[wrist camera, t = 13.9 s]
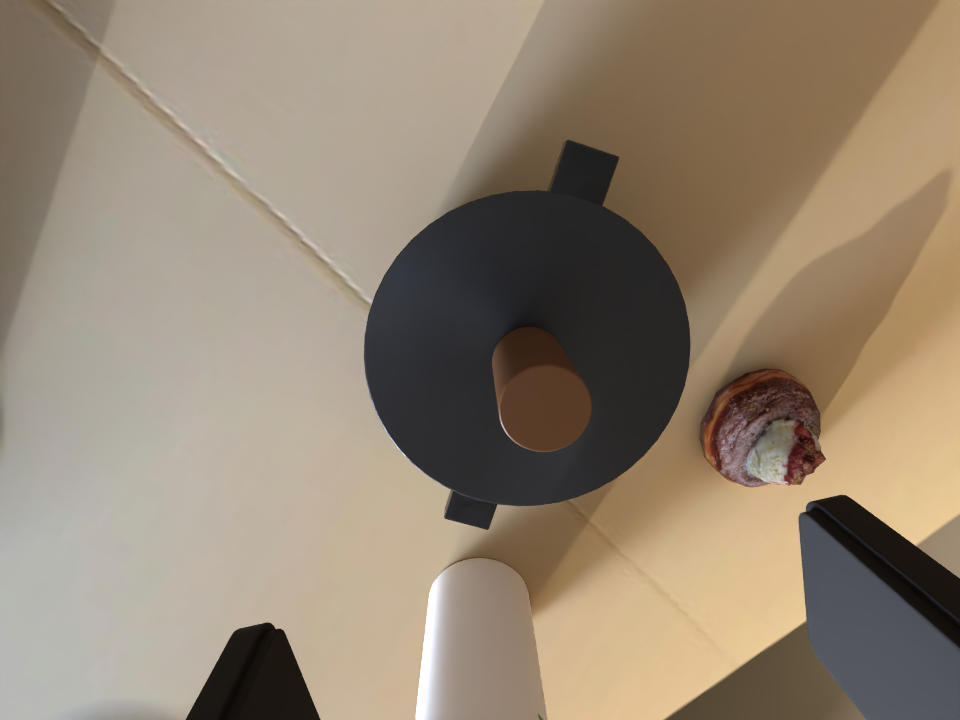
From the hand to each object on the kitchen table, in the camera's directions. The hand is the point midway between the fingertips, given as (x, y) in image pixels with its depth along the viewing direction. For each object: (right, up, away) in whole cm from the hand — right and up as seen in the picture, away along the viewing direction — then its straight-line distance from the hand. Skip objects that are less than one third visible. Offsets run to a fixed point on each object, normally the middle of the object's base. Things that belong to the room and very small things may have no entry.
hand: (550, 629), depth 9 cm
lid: (+1, +5, +15) cm, 16 cm away
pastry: (+16, +1, +26) cm, 30 cm away
